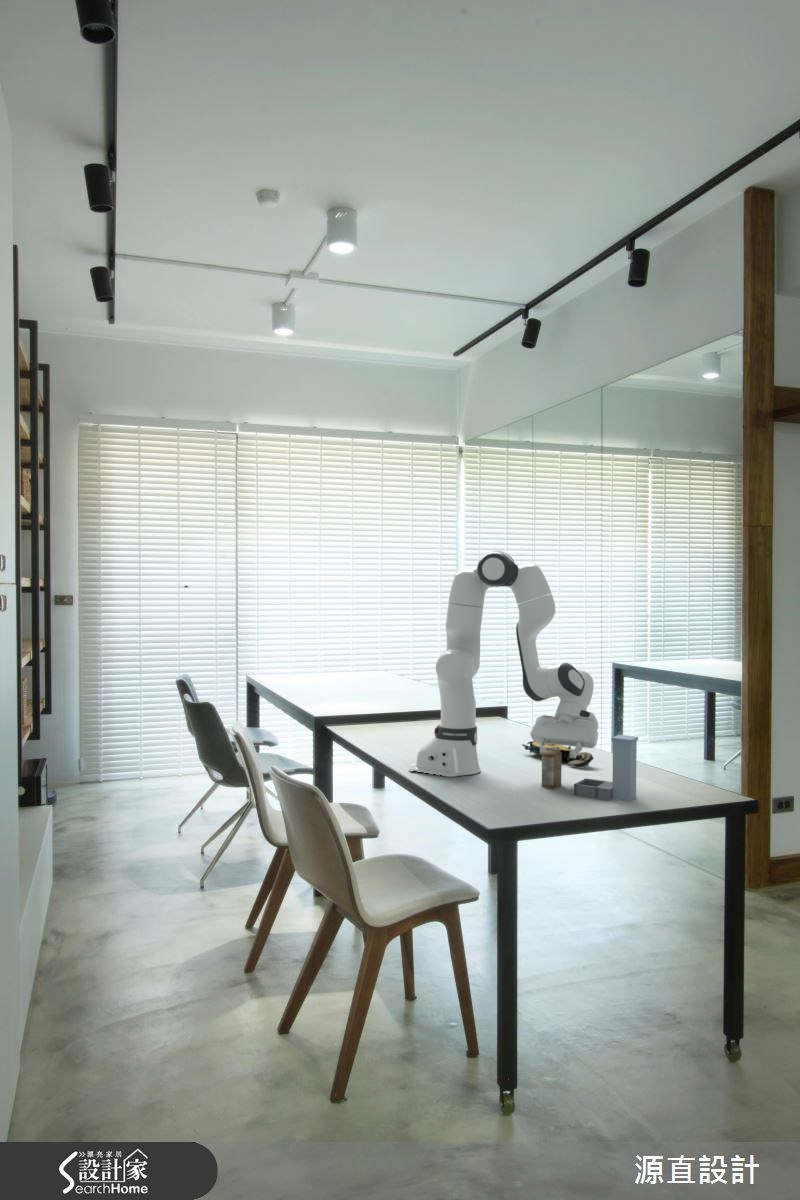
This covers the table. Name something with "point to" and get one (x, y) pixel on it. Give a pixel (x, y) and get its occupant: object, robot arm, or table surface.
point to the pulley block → (579, 761)
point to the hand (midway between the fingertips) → (557, 755)
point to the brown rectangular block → (551, 769)
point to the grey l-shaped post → (615, 774)
